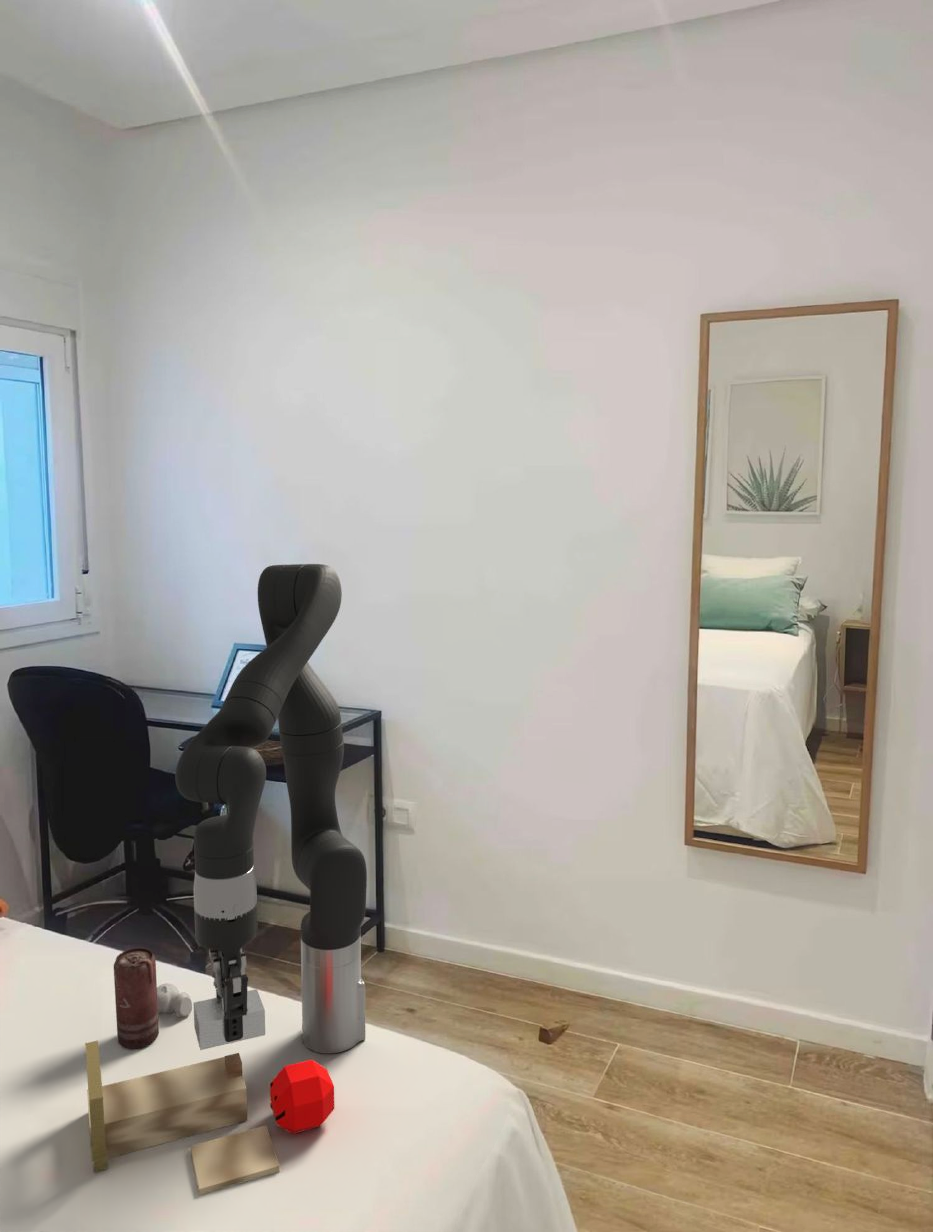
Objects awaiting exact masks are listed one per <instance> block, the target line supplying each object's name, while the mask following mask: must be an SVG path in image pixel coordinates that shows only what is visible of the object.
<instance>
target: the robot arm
mask: <svg viewBox="0 0 933 1232" xmlns="http://www.w3.org/2000/svg"><path fill="white" fill-rule="evenodd" d="M341 586H342V585H341V581H340V577H339V576H338V574H337V572H336V570H335V569H334V568H333V567H332V566H329V565H326V564H322V563H321V564H320V563H296V564H295V563H293V564H273V565H269V566H267V567H265V568H264V569H262V571H261V573H260V575H259V579H258V583H257V606H258V611H259V616H260V621H261V627H262V632H263V635H264V641H265V644H266V645H265V646H266V647H265V648H264V649H263V650H261V651H260V652H258V654H257V655H255V656H254V657H253V658H252V659H251V660H250V661H249V662H247V664H245V666H244V667H243V668H242V669H241V670H240V671H239V673H238V674H237V675H236V677H235V678H234V680H233V682H232V684H231V687H230V689H229V690H228V693H227V695H226V697H225V699H224V701H223V702H222V705H221V707H220V708H219V711H218V712H217V713H216V714H214V716H213V717H212V718H210V720H209V721H208V722H207V723H206V724H205V726H203V728H201V730H200V731H199V732H197V734H196V735H195V736H194V737H193V738H192V739H191V741H190V742H189V743H188V744H187V746H186V747H185V748H184V749H183V751H182V752H181V754H180V757H179V759H178V761H177V764H176V766H175V775H174V776H175V777H174V779H175V780H174V781H175V785H176V787H177V790H178V792H179V794H180V796H182V797H183V798H185V799H186V800H189V801H191V802H198V803H205V804H206V803H209V804H218V805H227V806H228V814H221V815H217V816H211V817H209V818H207V819H204V820H203V821H200V823H198V824H197V825H196V828H195V830H194V834H193V852H194V853H193V855H194V879H193V908H194V909H193V911H194V913H193V914H194V933H195V940H196V943H198V945H199V946H201V947H202V948H204V949H207V950H208V955H209V961H210V974H211V977H212V978H213V987H214V988H215V995H216V997H215V998H218V997H222V1007H223V1009H222V1013H223V1017H224V1038H225V1041H226V1042H231V1041H236V1040H240V1039H241V1038H242V1037H243V1016H244V1015H247V1011H248V1010H247V991H248V981H249V977H248V976H247V974H246V968H247V955H246V953H245V952H243V948H244V946H246V945H247V944H249V943H251V942H252V941H253V940H254V939H255V938H256V936H257V934H258V930H259V929H258V897H257V893H258V892H257V879H256V877H257V876H256V871H255V865H254V861H255V859H254V858H255V857H254V832H255V831H254V830H255V824H256V820H257V816H258V809H259V806H260V803H261V798H262V795H263V791H264V788H265V784H266V779H267V767H266V763H265V760H264V759H263V757H262V755H261V754H260V753H259V752H258V750H256V749H255V748H253V747H257V746H260V745H262V744H263V743H265V742H266V741H267V740H268V738H269V737H270V735H271V733H272V731H273V730H274V727H275V725H276V722H278V732H279V741H280V747H281V753H282V760H283V765H284V775H285V782H286V787H287V793H288V798H289V805H290V830H291V831H290V832H291V833H290V834H291V835H290V836H291V837H290V838H291V839H290V841H291V846H290V847H291V849H290V850H291V864H292V868H293V871H294V873H295V876H296V878H297V879H298V880H299V881H300V882H301V884H303V886H305V887H306V888H307V889H308V890H309V893H310V895H309V897H310V898H309V900H310V902H309V905H310V906H309V911H308V912H306V914H305V915H304V916H303V917H302V918H301V922H300V960H301V961H300V962H301V963H300V964H301V965H300V966H301V967H300V969H301V971H300V972H301V1016H302V1018H301V1019H302V1020H301V1022H302V1023H301V1031H302V1041H303V1043H304V1045H305V1047H307V1048H308V1049H309V1050H312V1051H313V1052H316V1053H321V1054H336V1053H341V1052H344V1051H347V1050H350V1049H351V1048H353V1047H354V1046H355V1045H357V1044H358V1043H359V1042H361V1041H365V1040H366V984H365V982H364V980H363V978H362V961H361V960H362V951H361V950H362V946H361V945H362V943H361V941H362V940H361V939H362V938H361V937H362V935H361V931H362V925H363V922H364V919H365V916H366V910H367V909H366V907H367V885H368V884H367V881H368V880H367V879H368V878H367V877H368V873H367V872H368V870H367V863H366V859H365V856H364V853H363V852H362V851H361V850H360V849H359V848H358V847H357V846H356V845H355V844H353V843H352V842H351V841H350V840H348V839H347V838H346V837H344V835H343V834H342V830H341V828H340V827H341V826H340V823H339V819H338V811H337V805H336V791H337V790H336V789H337V783H338V780H339V776H340V775H341V770H342V766H343V762H344V756H345V755H344V752H345V743H344V733H343V724H342V717H341V716H342V715H341V711H340V707H339V705H338V704H337V702H336V699H335V698H334V696H333V695H332V693H331V692H330V691H329V689H328V688H327V686H326V685H325V684H324V683H323V681H322V680H321V678H320V677H319V676H318V675H317V674H316V673H315V671H314V669H313V668H312V666H311V664H309V660H310V659H311V657H312V656H313V655H314V653H315V652H316V650H317V649H318V648H319V645H320V644H321V642H322V641H323V639H324V638H325V636H326V635H327V634H328V632H329V630H330V629H331V628H332V626H333V625H334V623H335V621H336V619H337V616H338V614H339V612H340V609H341V604H342V591H343V590H342V587H341ZM277 720H278V721H277Z"/></svg>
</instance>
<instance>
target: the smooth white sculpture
mask: <svg viewBox="0 0 933 1232" xmlns="http://www.w3.org/2000/svg"><path fill="white" fill-rule="evenodd" d="M157 1002H158V1014H159V1013H160V1014H163V1013H164V1014H169V1013H172V1012H175V1014H176V1016H178V1017H179V1018H185V1017H186V1016H189V1015H190V1014H191V1013H192V1010H193V1002H192V999H191V996H190V994H189V993H187V992H186V991H183V992H179V989H178V987H177V986H176V985H174V984H173V983H167V982H166V983H163V984H160V985H158V986H157Z"/></svg>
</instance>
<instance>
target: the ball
mask: <svg viewBox="0 0 933 1232" xmlns="http://www.w3.org/2000/svg"><path fill="white" fill-rule="evenodd" d="M334 1085H335V1084H334V1082H333V1080H332V1078H331V1075H330V1073H329V1071H328V1069H327V1068H325V1067H324V1066H322V1065H321V1064H319V1063H318V1062H316V1061H315V1060H314V1059H308V1060H304V1061H300V1062H296V1063H292V1064H288V1065H284V1066H283V1068H281V1069H280V1071H279V1072H278V1073H277V1075H275V1077H274V1078H273V1079H272V1080H271V1082H270V1083H269V1099H270V1104H269V1105H270V1109H271V1111H272V1114H273V1116H274V1119H275V1124H276V1125H277V1126H279V1127H280V1128H282V1129H283V1130H285V1131H286V1132H287V1133H290V1134H292V1135H293V1134H296V1133H300V1132H304V1131H308V1130H312V1129H315V1128H318V1127H321V1126H322V1125H323V1124H324V1122H325V1121H326V1120H327V1119H328V1117H329V1116H330V1115H331V1114H332V1112H333V1111H334V1110H335V1086H334Z"/></svg>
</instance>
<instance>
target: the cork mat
mask: <svg viewBox="0 0 933 1232" xmlns="http://www.w3.org/2000/svg"><path fill="white" fill-rule="evenodd" d="M189 1147H190V1156H191V1161H192V1165H193V1166H192V1167H193V1170H194V1175H195V1180H196V1184H197V1190H198V1195H200V1196H201V1195H204V1194H208V1193H211V1192H214V1191H216V1190H220V1189H224V1188H227V1187H231V1186H235V1185H237V1184H240V1183H244V1182H248V1181H251V1180H255V1179H257V1178H261V1177H262V1178H263V1177H265V1176H269V1175H272V1174H275V1173H278V1172H281V1171H280V1170H281V1169H280V1167H281V1166H280V1163H279V1159H278V1157H277V1154H276V1150H275V1148H274V1145H273V1142H272V1139H271V1136H270V1133H269V1130H268V1126H267V1125H263V1126H260V1127H256V1128H252V1129H248V1130H245V1131H241V1132H237V1133H233V1134H230V1135H226V1136H223V1137H218V1138H216V1139H212V1140H209V1141H205V1142H201V1143H196V1144H193V1145H190V1146H189Z"/></svg>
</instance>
